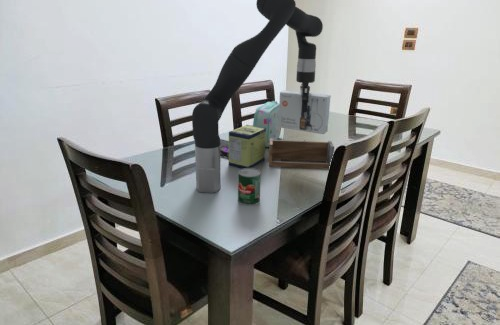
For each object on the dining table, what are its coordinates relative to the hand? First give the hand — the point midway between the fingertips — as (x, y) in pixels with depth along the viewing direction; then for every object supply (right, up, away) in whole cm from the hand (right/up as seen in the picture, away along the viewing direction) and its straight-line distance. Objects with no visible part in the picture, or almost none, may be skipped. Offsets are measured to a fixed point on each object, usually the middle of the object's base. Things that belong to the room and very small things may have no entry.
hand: (303, 110), depth 152 cm
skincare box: (0, -8, +3) cm, 9 cm away
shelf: (0, -23, +12) cm, 25 cm away
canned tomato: (-23, -36, -24) cm, 49 cm away
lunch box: (-13, -11, +42) cm, 45 cm away
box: (-36, -17, +27) cm, 48 cm away
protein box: (-24, -23, +11) cm, 35 cm away
